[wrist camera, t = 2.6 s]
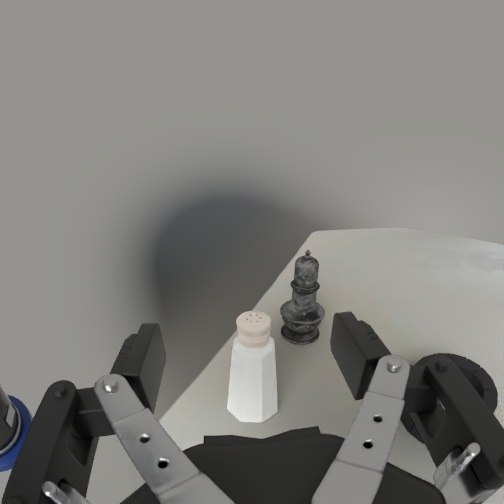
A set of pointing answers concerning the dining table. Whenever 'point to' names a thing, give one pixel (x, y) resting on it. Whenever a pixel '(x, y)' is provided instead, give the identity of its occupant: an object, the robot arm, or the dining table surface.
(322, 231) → the dining table surface
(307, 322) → the grey chess piece
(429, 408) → the robot arm
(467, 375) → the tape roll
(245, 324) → the pepper shaker
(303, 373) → the dining table surface
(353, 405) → the dining table surface
